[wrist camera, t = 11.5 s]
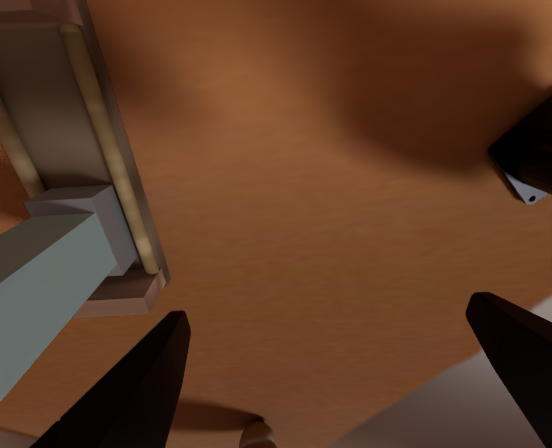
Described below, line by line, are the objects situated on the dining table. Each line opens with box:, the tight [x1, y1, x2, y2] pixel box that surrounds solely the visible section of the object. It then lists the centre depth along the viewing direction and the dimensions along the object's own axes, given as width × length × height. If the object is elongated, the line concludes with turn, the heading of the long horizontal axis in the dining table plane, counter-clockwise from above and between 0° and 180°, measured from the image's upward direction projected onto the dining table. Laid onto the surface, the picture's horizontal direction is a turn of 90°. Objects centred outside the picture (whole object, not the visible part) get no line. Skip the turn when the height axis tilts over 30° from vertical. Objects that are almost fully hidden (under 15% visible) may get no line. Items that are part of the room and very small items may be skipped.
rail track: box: [0, 0, 171, 318], centre depth 17 cm, size 20×7×4 cm, turn 3°
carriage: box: [0, 184, 138, 402], centre depth 14 cm, size 6×4×14 cm
